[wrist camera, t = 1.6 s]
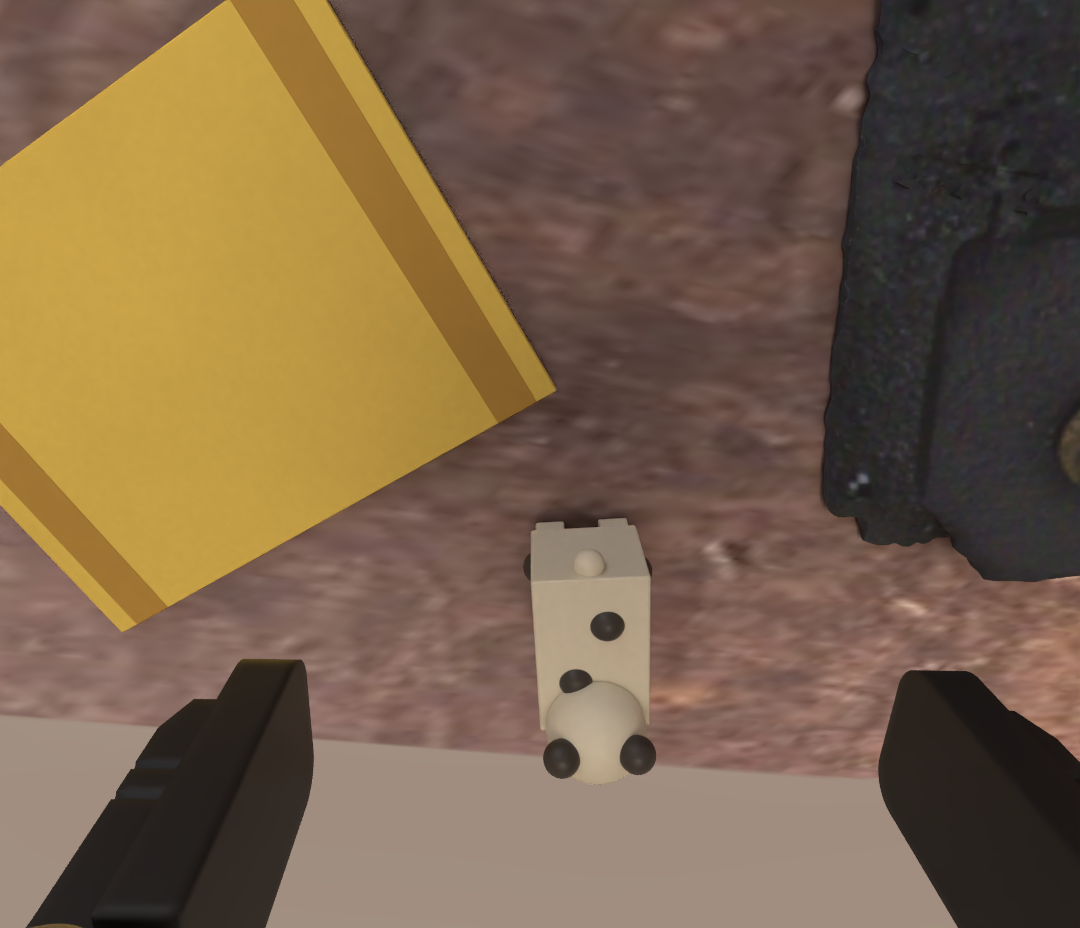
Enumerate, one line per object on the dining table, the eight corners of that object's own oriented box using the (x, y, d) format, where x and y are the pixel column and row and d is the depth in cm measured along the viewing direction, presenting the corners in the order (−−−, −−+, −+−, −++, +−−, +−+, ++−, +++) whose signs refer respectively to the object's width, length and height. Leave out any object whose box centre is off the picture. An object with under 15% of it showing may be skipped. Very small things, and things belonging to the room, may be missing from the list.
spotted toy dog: (521, 495, 27) (518, 608, 20) (638, 489, 27) (675, 600, 20) (534, 682, 31) (535, 835, 24) (638, 676, 31) (670, 828, 24)
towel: (299, -48, 21) (295, -53, 20) (556, 387, 26) (556, 391, 25) (-180, 303, 24) (-192, 306, 24) (127, 627, 29) (121, 633, 29)
